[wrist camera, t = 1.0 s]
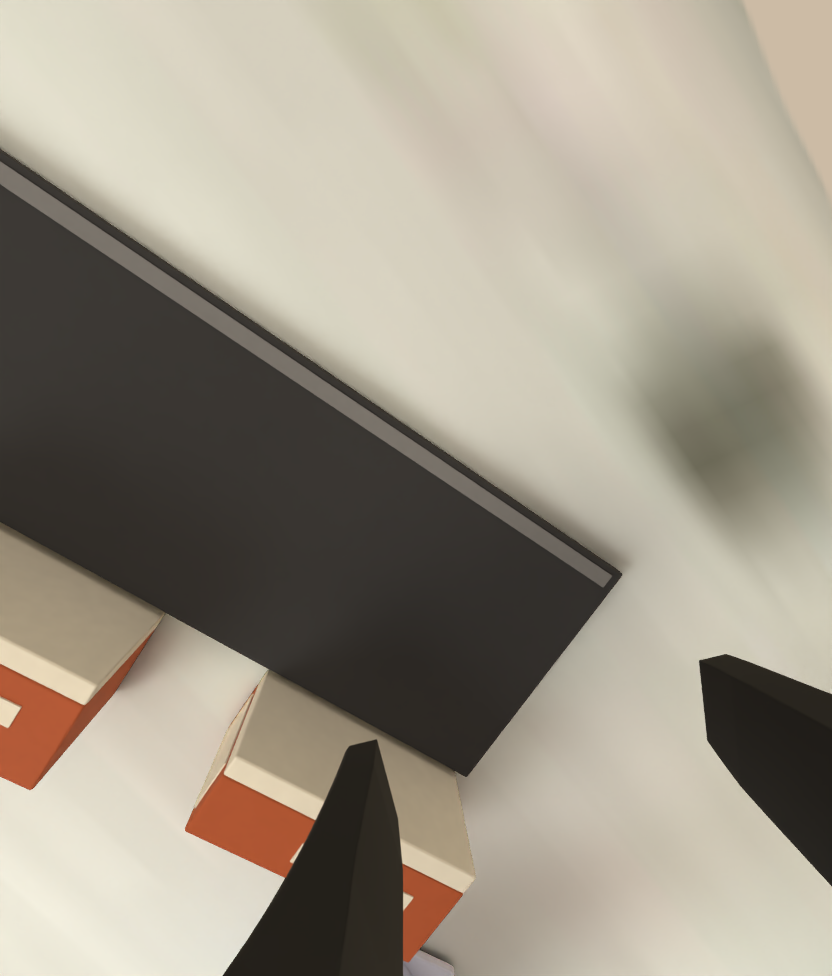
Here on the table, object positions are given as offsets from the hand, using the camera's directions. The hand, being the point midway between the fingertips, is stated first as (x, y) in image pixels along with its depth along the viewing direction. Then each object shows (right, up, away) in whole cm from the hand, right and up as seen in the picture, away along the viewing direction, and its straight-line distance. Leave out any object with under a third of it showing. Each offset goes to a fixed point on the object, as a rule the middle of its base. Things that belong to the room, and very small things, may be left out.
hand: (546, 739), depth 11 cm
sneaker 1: (-6, -6, +11) cm, 14 cm away
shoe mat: (-9, +5, +8) cm, 13 cm away
